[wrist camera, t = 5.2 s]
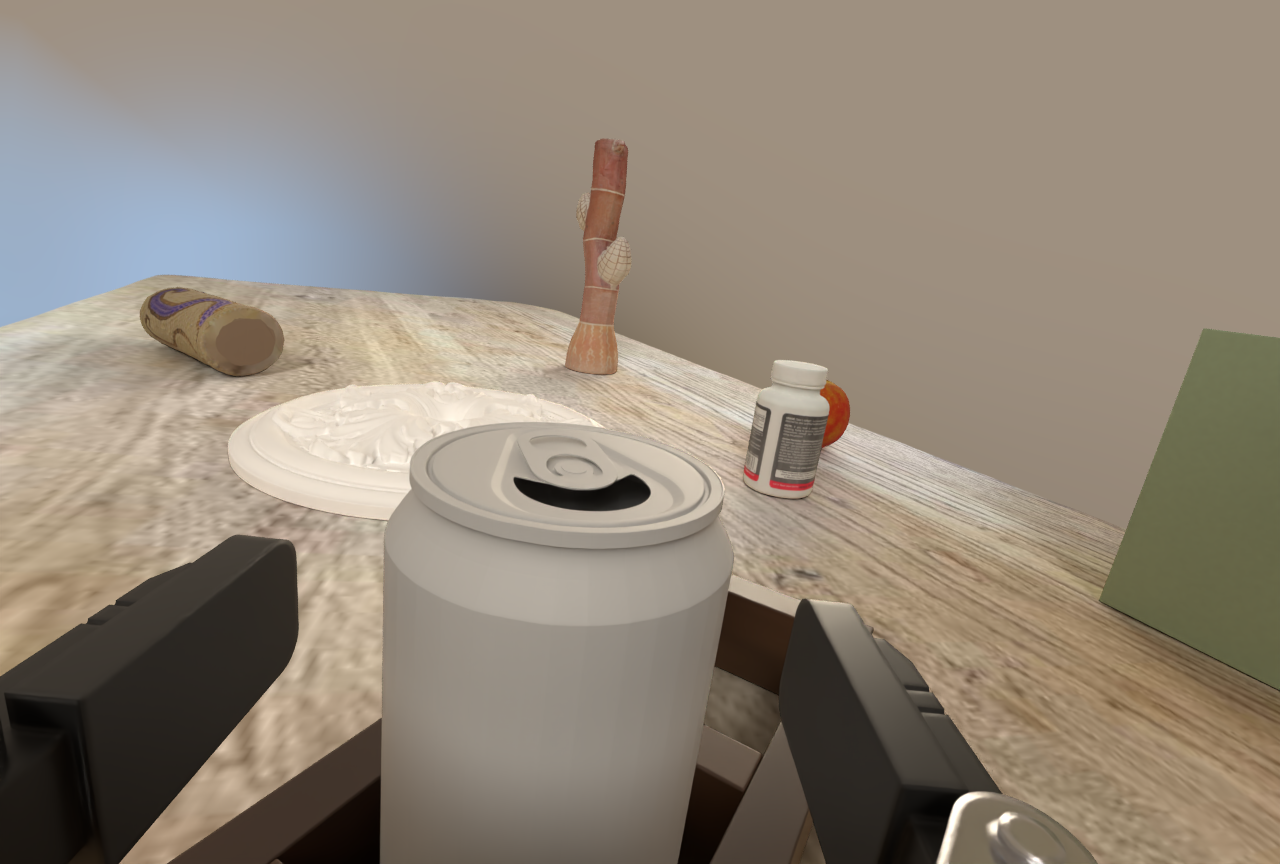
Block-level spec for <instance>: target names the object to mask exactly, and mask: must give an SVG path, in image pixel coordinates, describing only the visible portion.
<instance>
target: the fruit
mask: <svg viewBox="0 0 1280 864" xmlns="http://www.w3.org/2000/svg"><path fill="white" fill-rule="evenodd" d="M820 395H821V396H822V397H824V398H825V399H826V400H827V401H828V403H829V416H828V420H827V424H826V429H825V433H824V437H823V442H822V446H821V448H823V447H825V446H828V445H830V444H832V443H834V442H835V441H837V440H838V439H839V438H840V437H841V436H842V434H843V433H844V431H845V430H846V428H847V425H848V422H849V417H850V405H849V401H848V398H847V396H846V394H845V392H844V391H843V390H842V389H841V388H839V387H838V386H837V385H835V384H834V383H832V382H830V381H828V380H826V385H824V388H823V389H821V390H820Z"/></svg>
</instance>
